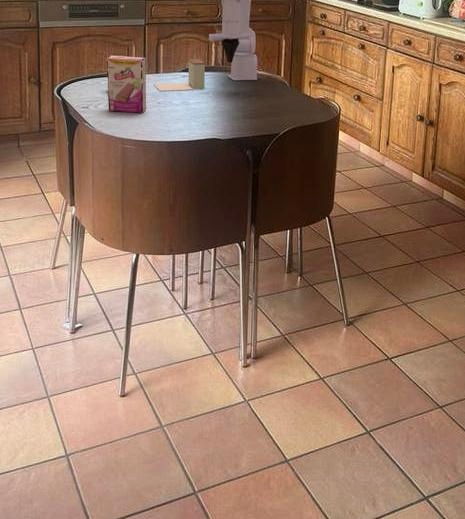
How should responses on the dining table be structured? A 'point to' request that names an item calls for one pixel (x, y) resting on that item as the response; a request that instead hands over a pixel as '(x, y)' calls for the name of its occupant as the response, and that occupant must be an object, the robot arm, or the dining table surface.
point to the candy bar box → (126, 84)
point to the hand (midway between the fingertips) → (229, 61)
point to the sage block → (196, 73)
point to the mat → (173, 87)
